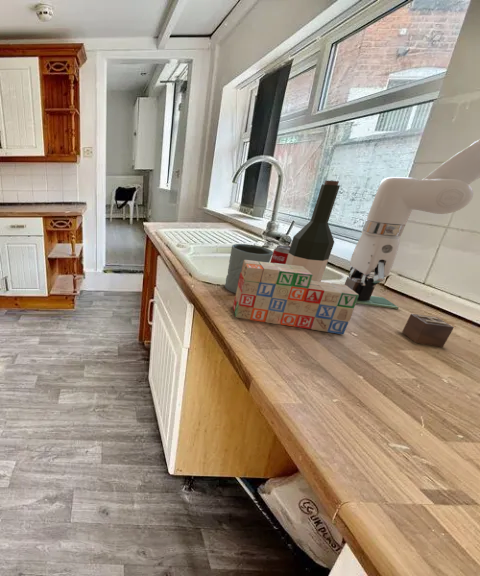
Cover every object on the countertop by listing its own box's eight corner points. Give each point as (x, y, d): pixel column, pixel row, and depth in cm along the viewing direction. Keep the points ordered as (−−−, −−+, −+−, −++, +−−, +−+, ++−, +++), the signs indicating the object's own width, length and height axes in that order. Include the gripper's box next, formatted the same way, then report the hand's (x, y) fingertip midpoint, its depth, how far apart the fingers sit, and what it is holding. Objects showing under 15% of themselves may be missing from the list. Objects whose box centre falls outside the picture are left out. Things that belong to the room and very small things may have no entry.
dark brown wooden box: (427, 336, 66) (437, 316, 64) (443, 347, 62) (454, 326, 60) (401, 332, 67) (411, 312, 65) (415, 343, 63) (426, 322, 61)
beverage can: (269, 282, 93) (279, 244, 89) (289, 288, 89) (302, 248, 85) (260, 286, 90) (271, 246, 85) (281, 292, 86) (293, 251, 81)
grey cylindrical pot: (229, 280, 93) (238, 242, 88) (265, 289, 87) (276, 249, 83) (217, 289, 86) (226, 247, 81) (256, 300, 80) (268, 255, 75)
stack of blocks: (332, 322, 70) (351, 271, 65) (343, 335, 64) (366, 281, 60) (232, 306, 75) (243, 258, 71) (234, 317, 70) (247, 266, 65)
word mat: (382, 298, 85) (383, 296, 85) (398, 309, 79) (399, 307, 79) (337, 292, 88) (338, 291, 88) (349, 302, 82) (349, 300, 81)
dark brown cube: (360, 294, 85) (366, 278, 84) (369, 300, 81) (376, 284, 79) (341, 291, 86) (347, 276, 85) (349, 298, 82) (355, 281, 80)
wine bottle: (311, 300, 81) (352, 181, 70) (312, 311, 75) (358, 182, 63) (276, 293, 85) (309, 179, 74) (274, 302, 79) (310, 179, 67)
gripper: (423, 237, 68) (389, 310, 75) (380, 225, 84) (355, 287, 90) (384, 234, 70) (354, 305, 77) (349, 222, 85) (326, 283, 92)
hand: (355, 295), depth 84 cm, fingers closed on dark brown cube, 4 cm apart
